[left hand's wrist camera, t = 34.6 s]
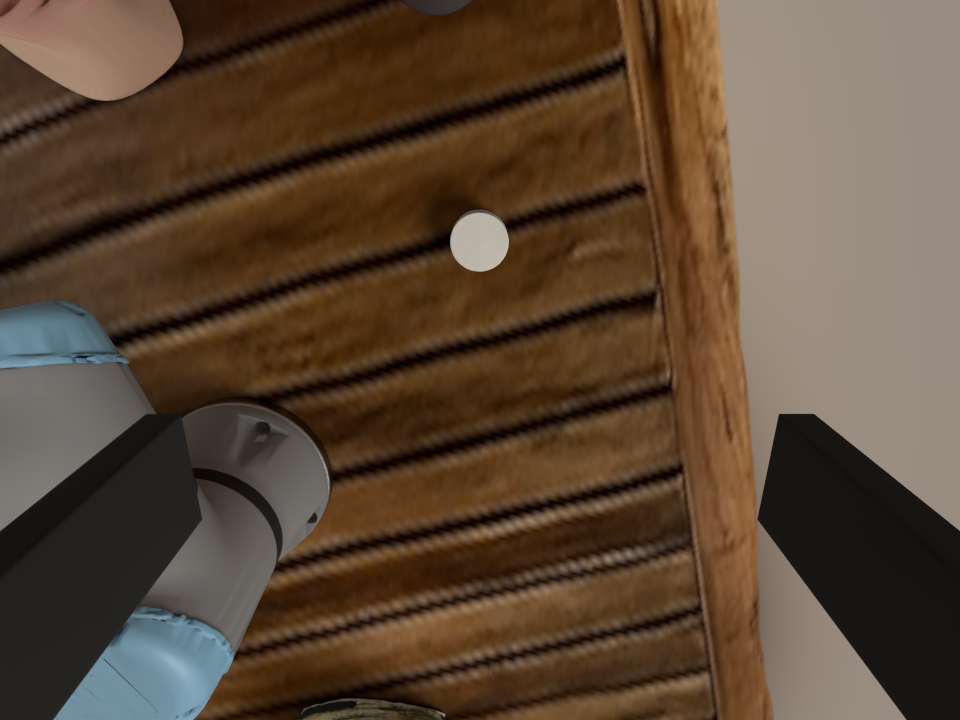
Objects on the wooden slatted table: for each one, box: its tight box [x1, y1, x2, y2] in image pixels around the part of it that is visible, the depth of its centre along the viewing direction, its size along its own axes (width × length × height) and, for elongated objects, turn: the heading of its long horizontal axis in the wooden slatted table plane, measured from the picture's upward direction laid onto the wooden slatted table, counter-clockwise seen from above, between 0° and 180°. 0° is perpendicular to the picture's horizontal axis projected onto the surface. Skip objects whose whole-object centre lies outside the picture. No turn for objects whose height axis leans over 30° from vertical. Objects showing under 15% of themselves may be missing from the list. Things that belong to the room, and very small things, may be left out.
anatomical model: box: [0, 0, 183, 101], centre depth 37 cm, size 13×4×12 cm
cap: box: [450, 209, 508, 271], centre depth 44 cm, size 4×4×2 cm
